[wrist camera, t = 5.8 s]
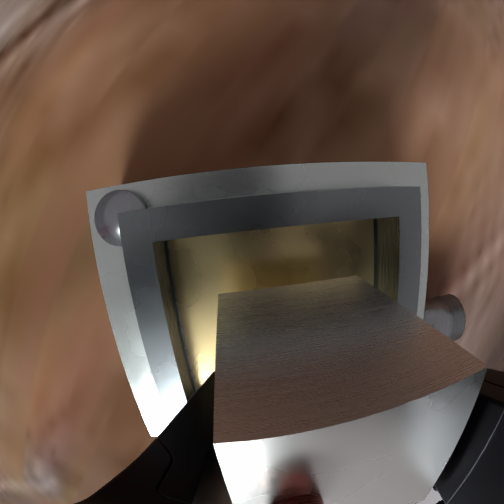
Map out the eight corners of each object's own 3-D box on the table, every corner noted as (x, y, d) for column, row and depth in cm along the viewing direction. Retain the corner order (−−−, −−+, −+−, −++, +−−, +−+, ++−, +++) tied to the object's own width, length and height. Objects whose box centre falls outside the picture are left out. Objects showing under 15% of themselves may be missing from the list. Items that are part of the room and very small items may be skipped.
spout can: (357, 275, 9) (531, 399, 2) (351, 384, 10) (442, 528, 3) (218, 293, 9) (212, 519, 2) (236, 405, 10) (254, 585, 3)
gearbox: (435, 168, 15) (507, 166, 9) (426, 345, 17) (478, 388, 12) (119, 191, 14) (60, 192, 8) (162, 392, 16) (144, 463, 10)
